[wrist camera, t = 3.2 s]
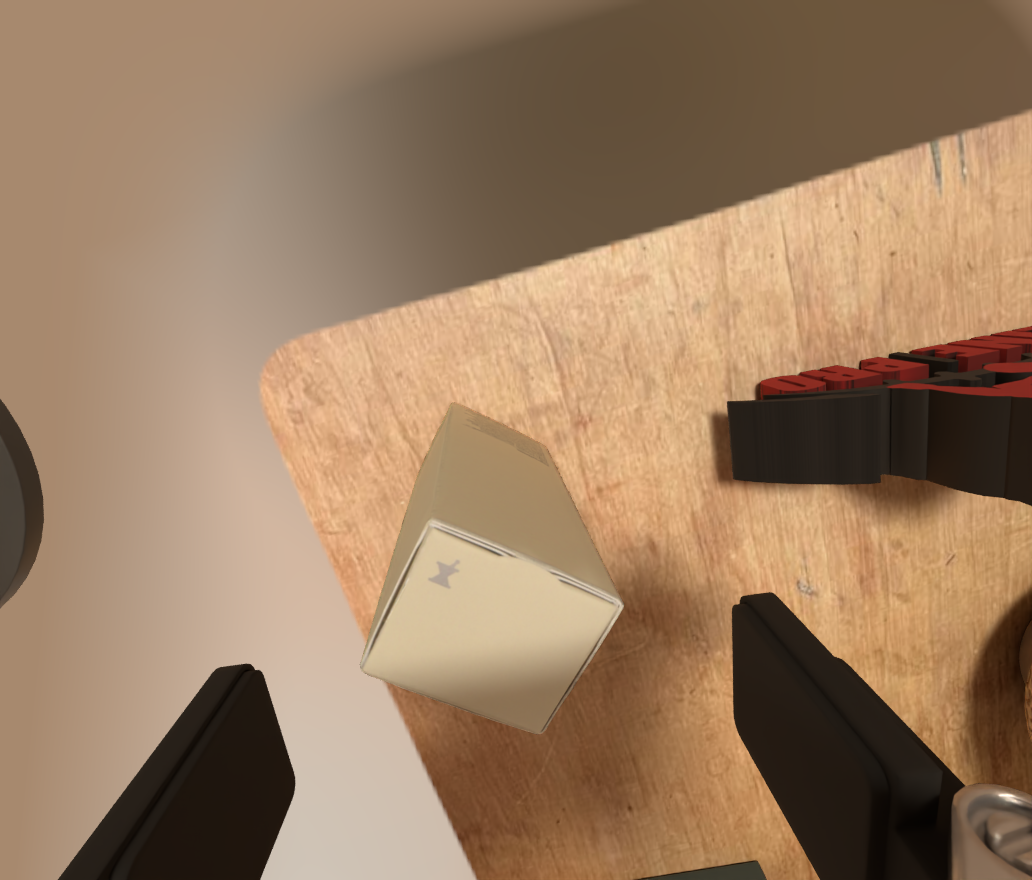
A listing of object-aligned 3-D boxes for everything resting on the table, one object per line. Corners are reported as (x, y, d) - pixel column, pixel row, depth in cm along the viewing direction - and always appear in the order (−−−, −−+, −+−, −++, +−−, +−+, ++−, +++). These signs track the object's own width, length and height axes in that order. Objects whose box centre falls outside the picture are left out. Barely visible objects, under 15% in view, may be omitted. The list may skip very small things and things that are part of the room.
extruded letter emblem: (1084, 314, 24) (1577, 329, 13) (1076, 387, 25) (1529, 456, 14) (703, 391, 24) (885, 469, 13) (709, 461, 25) (883, 588, 14)
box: (413, 479, 24) (337, 673, 12) (453, 396, 23) (418, 511, 11) (514, 525, 25) (542, 749, 13) (557, 446, 24) (633, 605, 12)
